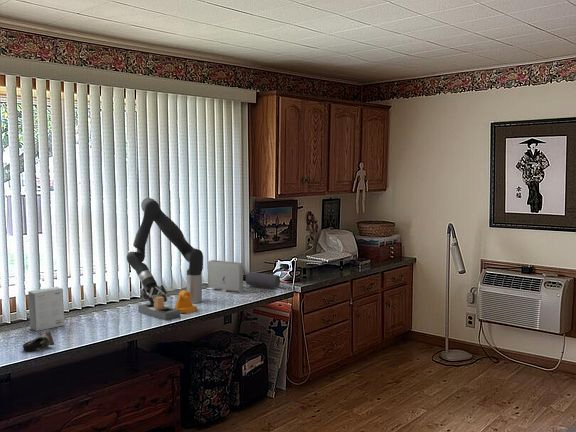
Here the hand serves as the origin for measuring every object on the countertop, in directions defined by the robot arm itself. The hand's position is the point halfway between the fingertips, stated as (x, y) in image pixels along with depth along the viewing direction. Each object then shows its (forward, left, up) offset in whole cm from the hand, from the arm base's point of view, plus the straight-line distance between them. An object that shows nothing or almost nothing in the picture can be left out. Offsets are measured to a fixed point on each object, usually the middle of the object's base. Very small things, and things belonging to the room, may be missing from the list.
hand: (159, 302), depth 338 cm
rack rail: (0, -1, -7) cm, 7 cm away
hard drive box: (+28, -53, -7) cm, 60 cm away
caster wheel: (+64, -41, -7) cm, 76 cm away
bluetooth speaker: (-75, +52, -7) cm, 92 cm away
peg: (0, -1, -7) cm, 7 cm away
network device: (-62, +28, -7) cm, 69 cm away
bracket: (-8, +13, -7) cm, 17 cm away
